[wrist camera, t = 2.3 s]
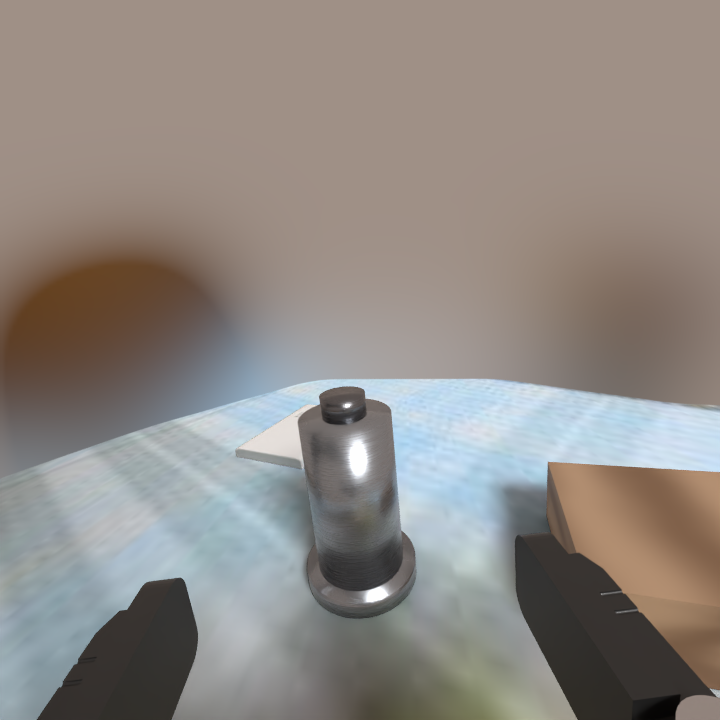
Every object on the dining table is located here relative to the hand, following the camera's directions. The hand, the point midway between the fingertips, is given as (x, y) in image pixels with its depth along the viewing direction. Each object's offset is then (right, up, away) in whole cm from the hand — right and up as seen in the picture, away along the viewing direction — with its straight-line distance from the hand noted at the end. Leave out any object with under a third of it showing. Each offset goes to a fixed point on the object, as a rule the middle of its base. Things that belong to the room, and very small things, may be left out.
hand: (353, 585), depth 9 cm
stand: (+16, -6, +10) cm, 20 cm away
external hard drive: (-6, -4, +33) cm, 34 cm away
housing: (0, -7, +14) cm, 15 cm away
